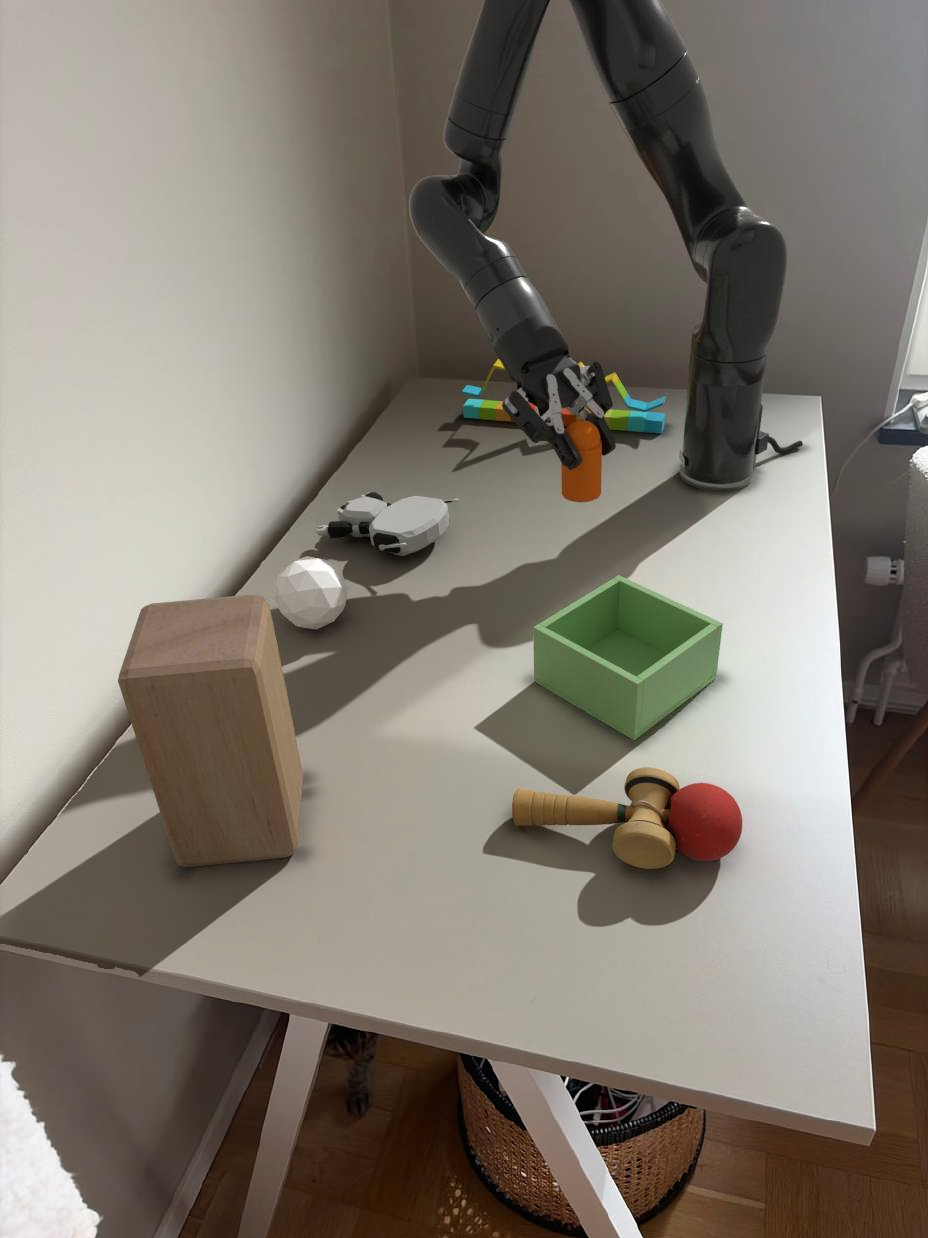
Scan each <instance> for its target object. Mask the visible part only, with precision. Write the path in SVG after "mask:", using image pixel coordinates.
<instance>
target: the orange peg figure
mask: <svg viewBox="0 0 928 1238" xmlns="http://www.w3.org/2000/svg"><path fill="white" fill-rule="evenodd" d="M567 432H568V434H569V436H570V438H571V440H572V441H573V443H574V445H575V447H576V449H577V450H578V452H579V454H580V456H581V458H582V463H581V464H580V465H579V466H577V467H576V468H574V469H572V470H569V469H568V468H567V466H566V467H565V466H564V465H563V464H562V463H561V462H560V463H561V467H560V468H561V473H560V474H561V495H562V497H563V498H564V499H565V500H567V501H570V502H574V503H588V502H592V501H595V500H597V499H598V498H599V497H600V496H601V494H602V470H603V469H602V467H603V466H602V465H603V463H602V461H603V455H602V442H601V440H600V433H599V431H598V429H597V427H596V426H595V425H594V424H592V423H591V422H589V421H585V420H579V421H575V422H573V423H571V424H570V425H569V426H566V428H565V429H564V434H565V433H567Z"/></svg>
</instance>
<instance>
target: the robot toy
mask: <svg viewBox="0 0 928 1238" xmlns="http://www.w3.org/2000/svg"><path fill="white" fill-rule="evenodd" d="M460 501H461V499H460V498H458V497H456V498H454V499H445V500H443V499H441V498H435V497H430V496H429V497H428V496H422V495H412V496H408V497H403V498H401V499H399V500H397V501H395V502H393V503H391V502H385V500H384V498H383V496H382V495H380V494H379V493H377V492H375V491H371V492H366V493H365V494H361V495H360V497H357V498H355V499H351V500H348V501H345V504H343V505H341V506H339V507H338V508H337V517H338V520H333V521H329V523H328V525H327V524H322V525H319V526H318V527H317V528H316V530H315V531H316V532H315V533H316V535H317V536H318V537H319V536H321V537H324V536H327V535H329V539H343V538H346V537H348V536H349V535H351V536H352V537H353V538H364V537H368V538H370V542H371V545H372V546H373V547H374V548H375V549H376V550H377V551H380V552H385V553H389V554H390V553H391V554H393V555H395V556H400V557H401V556H402V557H404V556H408V555H410V554H413V553H416V552H419V551H420V550H423V549H424V548H426V547H428V546H429V545H431V544H433V543H434V542H435V541H437V540H438V539H439V538H440V537H441V536H442V535H443V533H444V532H445V531H446V530H447V529H448V526H449V525H450V515H449V509H448V508H449V507H448V504H449V503H451V504H452V503H459V502H460Z"/></svg>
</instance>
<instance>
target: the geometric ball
mask: <svg viewBox="0 0 928 1238" xmlns="http://www.w3.org/2000/svg"><path fill="white" fill-rule="evenodd" d="M348 592H349V586H348V584H347V582H346V580H345V578H344V576H343V574H342V572H341V570H340V568H338V567H337V566H336V565H334V564H333V563H331V562H330V561H329V560H327V559H323V558H318V557H313V556H308V555H306V556H304V557H301V558H299V559H296V560H295V561H293V562H291V563H290V564H288V565H287V566H286V568H284V569H283V570H282V571H281V572H280V573H279V575H278V576H277V579H276V585H275V591H274V597H273V599H274V600H275V603H276V605H277V608H278V609H279V612H280V613H281V614H282V616H284V618H285V619H287V620H288V621H289V622H291V624H293V625H294V626H295V627H298V628H299V627H300V628H304V629H311V630H318V629H321V628H322V627H325V626H327V625H329V624H331V623H333V622H335V621H336V619H337V618H338V617H339V616H340V614H342V612H343V611H344V610H345V608H346V603H347V598H348Z"/></svg>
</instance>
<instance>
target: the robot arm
mask: <svg viewBox="0 0 928 1238" xmlns="http://www.w3.org/2000/svg"><path fill="white" fill-rule="evenodd" d="M550 1H551V0H483V2H482V5H481V8H480V11H479V14H478V17H477V20H476V24H475V26H474V29H473V31H472V34H471V37H470V40H469V42H468V45H467V49H466V51H465V54H464V57H463V60H462V63H461V65H460V66H461V67H460V69H459V73H458V76H457V79H456V82H455V86H454V90H453V93H452V98H451V101H450V103H449V108H448V111H447V115H446V118H445V121H444V126H443V132H442V140H443V144H444V146H445V147H446V149H447V150H448V151H449V152H450V153H451V154H453V155H454V156H455V157H457V158H459V165H458V169H457V172H456V173H455V174H434V175H427V176H425V177H423V178H421V179H420V180H418V181H417V182H416V183H415V185H413V187H412V189H411V192H410V194H409V199H408V212H409V217H410V221H411V224H412V227H413V229H414V231H415V234H416V235H417V236H418V238H419V239H420V241H421V242H422V244H423V245H424V246H425V247H426V248H427V250H428V251H429V252H430V253H431V254H432V255H433V256H434V257H435V258H436V259H437V261H438V262H439V263H440V264H441V265H442V266H443V267H444V269H446V270H447V271H448V273H450V274H451V275H452V276H453V277H454V278H455V279H456V280H457V281H458V282H459V284H460V286H461V288H462V289H463V292H464V293H465V295H466V297H467V299H468V301H469V303H470V305H471V306H472V308H473V310H474V311H475V313H476V315H477V317H478V320H479V322H480V326H481V328H482V330H483V333H484V334H485V336H486V338H487V340H488V341H489V343H490V345H491V347H492V348H493V350H494V352H495V354H496V355H497V357H498V359H500V361H501V363H502V364H503V366H504V368H505V370H506V371H505V370H504V371H505V372H506V373H507V375H508V377H509V379H510V380H511V381H513V382H515V383H516V384H515V385H516V390H513V391H512V392H511V393H509V395H508V396H507V397H506V398H505V399H504V400H503V403H502V408H503V409H504V410H505V411H506V412H507V414H508V415H509V416H510V417H511V418H512V419H513V420H514V421H515V422H514V423H515V424H516V425H517V426H518V427H519V428H520V429H521V431H522V432H523V433H524V434H525V435H526V436H527V438H528V439H529V440H530V441H531V442H532V443H533V444H538V443H539V442H547V443H548V444H550V445H551V446H552V449H553V450H554V452H555V454H556V456H557V457H558V459H559V461H560V463H562V464H563V465H564V466H565V467H566V466H567V468H568V469H569V470H572V469H574V468H576V467H577V466H579V465H580V464H581V463H582V458H581V456H580V454H579V452H578V450H577V449H576V447H575V445H574V443H573V441H572V440H571V438H570V436H569V434H568V432H567V433H565V434H564V432H565V426H564V425H563V421H562V417H561V413H562V408H567V410H568V411H569V412H570V413H571V414H573V415H577V416H578V417H579V418H580V419H581V420H585V421H589V422H591V423H592V424H594V425H595V426H596V427H597V429H598V431H599V433H600V440H601V442H602V457H603V456H604V457H605V456H607V455H610V454H611V453H612V452H614V450H616V448H617V445H616V443H617V441H616V437H615V436H614V434H613V432H612V430H611V429H609V427H608V425H607V423H606V422H605V419H604V415H605V414H606V412H607V411H608V410H609V409H612V408H613V406H614V403H613V400H612V397H611V394H610V391H609V387H608V383H606V380H605V377H606V376H605V374H604V370H603V367H602V364H601V363H600V362H598V361H594V362H592V363H591V364H590V365H584V366H579V365H578V362H576V361H575V360H574V359H573V358H572V357H571V356H570V353H569V345H568V341H567V340H566V338H565V336H564V334H563V332H562V331H561V329H560V328H559V326H558V323H557V322H556V320H555V319H554V317H553V315H552V313H551V311H550V310H549V308H548V306H547V305H546V302H545V301H544V299H543V297H542V295H541V294H540V292H539V291H538V290H537V289H536V287H535V286H534V285H533V283H532V281H531V280H530V279H529V277H528V274H527V273H526V271H525V270H524V268H523V266H522V264H521V263H520V261H519V259H518V257H517V255H516V254H515V253H514V251H513V249H512V247H511V246H510V245H509V244H508V243H507V242H506V241H504V240H502V239H499V238H496V237H492V236H489V235H486V234H485V233H486V232H488V230H489V229H490V228H491V226H492V225H493V224H494V221H495V219H496V217H497V215H498V212H499V208H500V203H501V195H502V194H501V193H502V182H503V173H504V153H505V147H506V145H507V142H508V139H509V136H510V133H511V131H512V130H511V129H512V127H513V123H514V120H515V117H516V114H517V111H518V108H519V104H520V101H521V98H522V96H523V92H524V88H525V84H526V81H527V77H528V74H529V71H530V67H531V63H532V59H533V55H534V52H535V48H536V45H537V42H538V37H539V33H540V32H541V27H542V25H543V22H544V19H545V16H546V13H547V10H548V8H549V5H550ZM567 1H568V2H569V5H570V8H571V10H572V12H573V15H574V18H575V20H576V24H577V26H578V27H577V28H578V29H579V30H578V31H579V32H580V36H581V38H582V42H583V44H584V47H585V50H586V53H587V56H588V58H589V62H590V63H591V67H592V69H593V71H594V74H595V76H596V78H597V81H598V83H599V85H600V87H601V89H602V92H603V94H604V96H605V98H606V101H607V102H608V104H609V106H610V107H611V110H612V112H613V114H614V115H615V118H616V119H617V121H618V123H619V126H620V127H621V129H622V131H623V133H624V134H625V136H626V137H627V139H628V141H629V142H630V144H631V145H632V147H633V149H634V151H635V152H636V154H637V156H638V157H639V159H640V161H641V162H642V164H643V166H644V167H645V169H646V170H647V173H649V174H650V176H651V178H652V179H653V181H654V182H655V184H656V185H657V187H658V188H659V189H660V191H661V192H662V194H663V196H664V198H665V200H666V202H667V204H668V206H669V208H670V210H671V211H670V212H671V214H672V215H673V219H674V220H675V223H676V225H677V228H678V230H679V232H680V235H681V238H682V241H683V242H684V246H685V249H686V252H687V254H688V257H689V259H690V262H691V264H692V267H693V269H694V271H695V272H696V275H698V277H699V278H700V279H701V280H702V281H703V282H704V283H705V284H706V290H705V291H706V292H705V300H704V310H703V317H702V320H701V321H700V322H698V323H697V324H696V325H695V326H694V328H693V329H692V332H691V340H690V341H691V343H690V353H689V354H690V355H689V366H688V377H687V378H688V380H687V391H686V405H685V415H684V416H685V417H684V428H683V440H682V449H679V454H678V455H679V456H678V458H679V460H680V466H679V477H680V479H681V480H682V481H683V482H684V483H686V484H687V485H689V486H691V487H693V488H695V489H699V490H703V491H709V492H727V491H728V492H729V491H736V490H739V489H742V488H744V487H746V486H747V485H749V484H750V483H751V482H752V481H753V474H754V472H755V470H756V463H757V456H758V455H760V454H762V453H763V452H765V451H767V450H768V445H769V444H770V445H771V447H772V449H773V450H774V452H775V453H776V454H781V455H786V454H789V453H790V452H793V451H794V450H797V449H798V448H801V447H802V446H803V444H804V443H803V441H802V440H797V441H795V442H793V443H792V444H789V445H788V446H785V447H780V445H779V443H778V442H777V440H776V439H775V438H774V437H772V436H770V433H768V432H764V431H762V430H761V425H762V417H763V416H762V415H763V409H764V407H763V404H762V398H763V389H764V383H765V374H766V367H767V357H768V351H769V345H770V344H769V343H770V340H771V338H772V337H773V335H774V333H775V332H776V328H777V326H778V323H779V317H780V311H781V306H782V300H783V295H784V290H785V283H786V278H787V277H786V276H787V270H788V269H787V268H788V246H787V242H786V239H785V236H784V234H783V233H782V232H781V230H780V228H778V227H777V226H776V225H775V224H773V223H772V222H770V221H769V220H767V219H766V218H763V217H762V216H761V215H759V214H757V213H756V212H754V210H752V209H751V207H750V205H748V203H747V202H746V200H745V199H744V196H743V195H742V194H741V192H740V191H739V189H738V187H737V185H736V184H735V183H734V181H733V179H732V177H731V175H730V173H729V172H728V169H727V168H726V166H725V163H724V161H723V158H722V156H721V152H720V150H719V146H718V140H717V136H716V130H715V123H714V119H713V113H712V109H711V104H710V100H709V97H708V93H707V91H706V88H705V85H704V83H703V80H702V78H701V75H700V73H699V71H698V69H697V67H696V65H695V63H694V60H693V59H692V56H691V54H690V52H689V50H688V48H687V45H686V43H685V41H684V40H683V37H682V36H681V34H680V32H679V31H678V29H677V27H676V25H675V23H674V22H673V19H672V18H671V16H670V15H669V12H668V11H667V9H666V7H665V6H664V4H663V2H662V1H661V0H567ZM578 399H579V401H577V400H578ZM528 403H530V404H533V405H535V409H536V411H535V410H534V409H533V408H532V407H531V406H530V405H529V404H528ZM584 407H585V408H586V409H587V410H588V411H589V412H590V413H589V412H588V411H587V410H586V409H585V408H584Z"/></svg>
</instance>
